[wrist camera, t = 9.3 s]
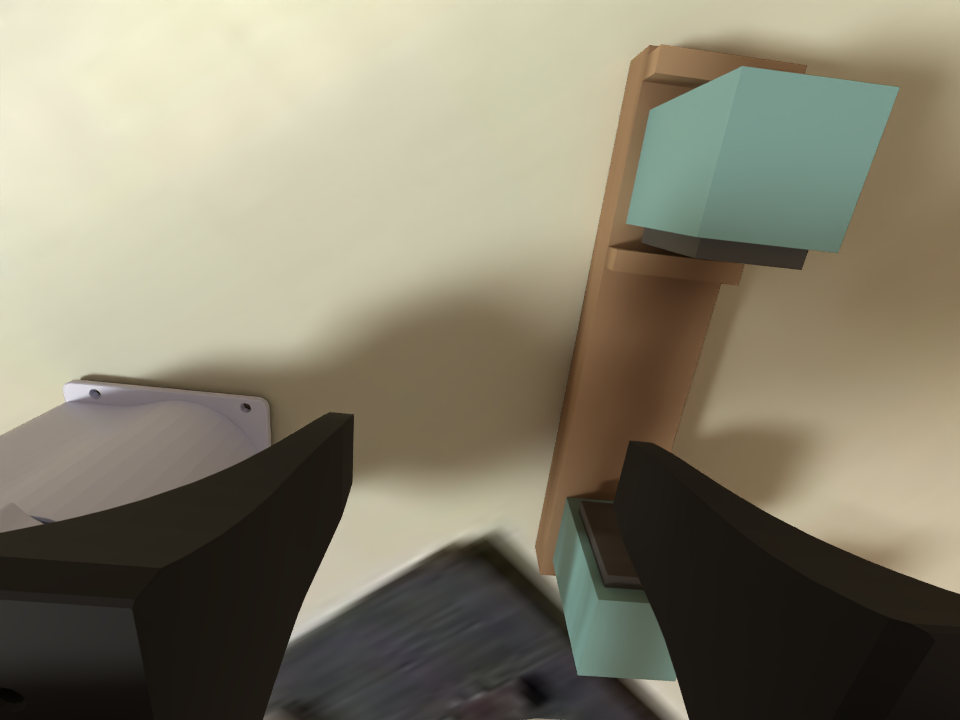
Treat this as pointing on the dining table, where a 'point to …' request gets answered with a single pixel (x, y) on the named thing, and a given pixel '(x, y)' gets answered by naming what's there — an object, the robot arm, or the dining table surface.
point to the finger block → (758, 166)
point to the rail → (627, 385)
